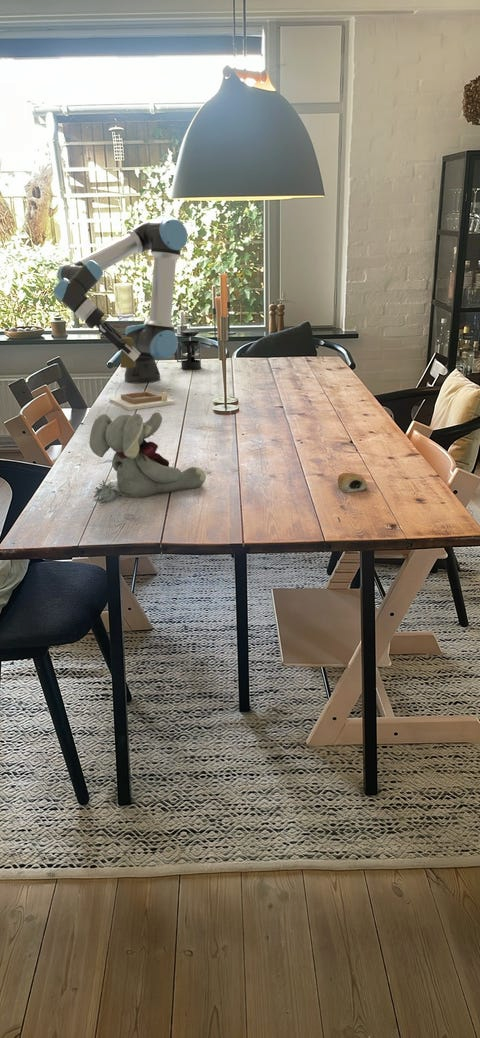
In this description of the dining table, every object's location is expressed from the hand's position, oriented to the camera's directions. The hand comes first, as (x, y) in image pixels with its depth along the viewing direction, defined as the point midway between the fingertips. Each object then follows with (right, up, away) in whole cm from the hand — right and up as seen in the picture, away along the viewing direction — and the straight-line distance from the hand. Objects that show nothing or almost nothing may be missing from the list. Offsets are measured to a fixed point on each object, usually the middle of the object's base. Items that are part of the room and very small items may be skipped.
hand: (137, 357), depth 293 cm
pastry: (+66, -54, -104) cm, 135 cm away
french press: (+16, +8, +61) cm, 64 cm away
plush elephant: (+14, -55, -103) cm, 117 cm away
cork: (-4, -3, +1) cm, 5 cm away
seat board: (+3, -19, -8) cm, 20 cm away
